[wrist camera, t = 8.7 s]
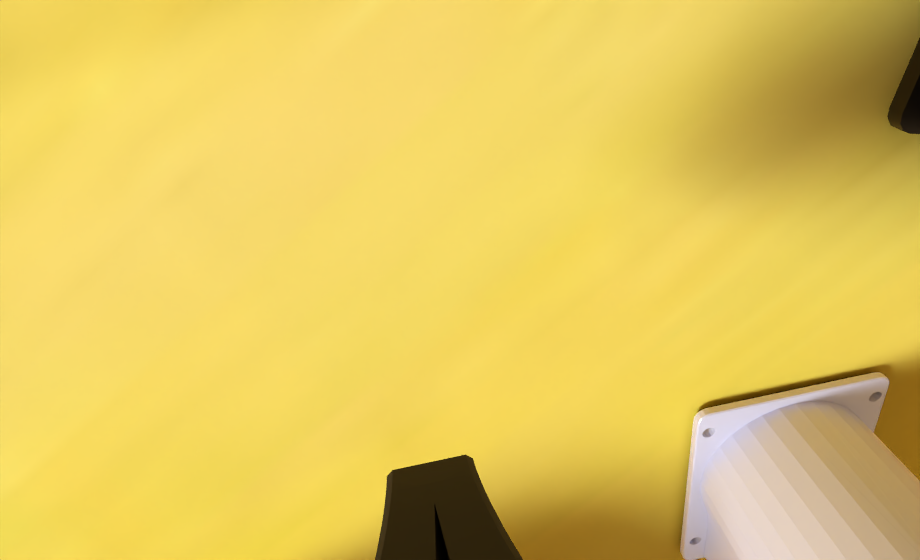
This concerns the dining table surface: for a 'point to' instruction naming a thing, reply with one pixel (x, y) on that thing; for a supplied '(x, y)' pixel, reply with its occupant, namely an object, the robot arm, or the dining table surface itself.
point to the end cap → (908, 98)
